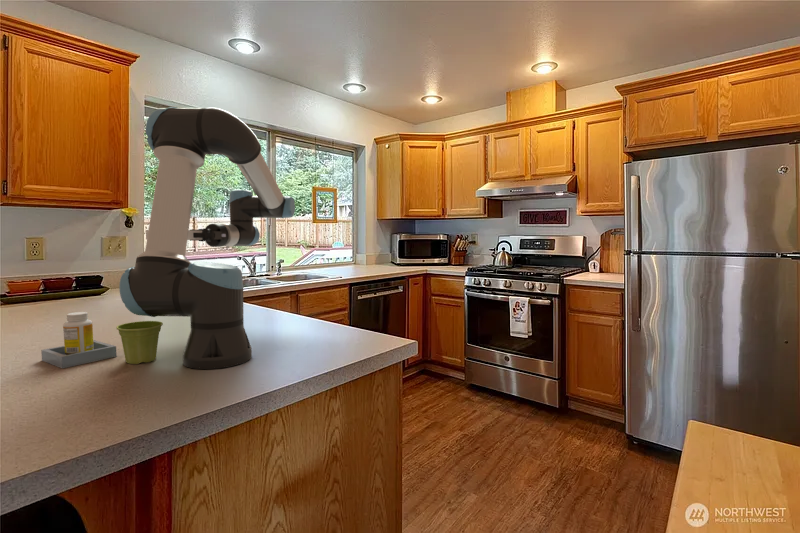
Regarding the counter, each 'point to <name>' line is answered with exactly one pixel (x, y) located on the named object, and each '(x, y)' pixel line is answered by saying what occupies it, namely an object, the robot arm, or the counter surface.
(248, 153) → the robot arm
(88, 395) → the counter surface
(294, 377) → the counter surface
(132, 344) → the plant pot
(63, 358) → the dish
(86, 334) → the supplement bottle
